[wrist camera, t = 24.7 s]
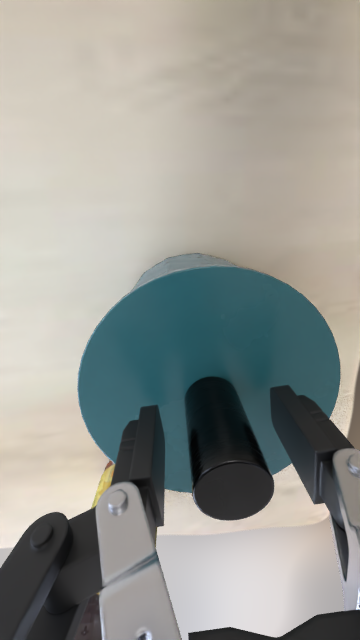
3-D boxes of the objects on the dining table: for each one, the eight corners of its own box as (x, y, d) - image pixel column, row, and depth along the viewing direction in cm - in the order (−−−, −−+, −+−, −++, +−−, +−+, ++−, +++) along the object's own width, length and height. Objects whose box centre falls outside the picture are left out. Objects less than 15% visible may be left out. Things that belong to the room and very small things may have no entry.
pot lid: (52, 286, 12) (-59, 337, 6) (332, 242, 12) (489, 252, 6) (116, 488, 16) (87, 631, 10) (322, 458, 16) (409, 586, 10)
